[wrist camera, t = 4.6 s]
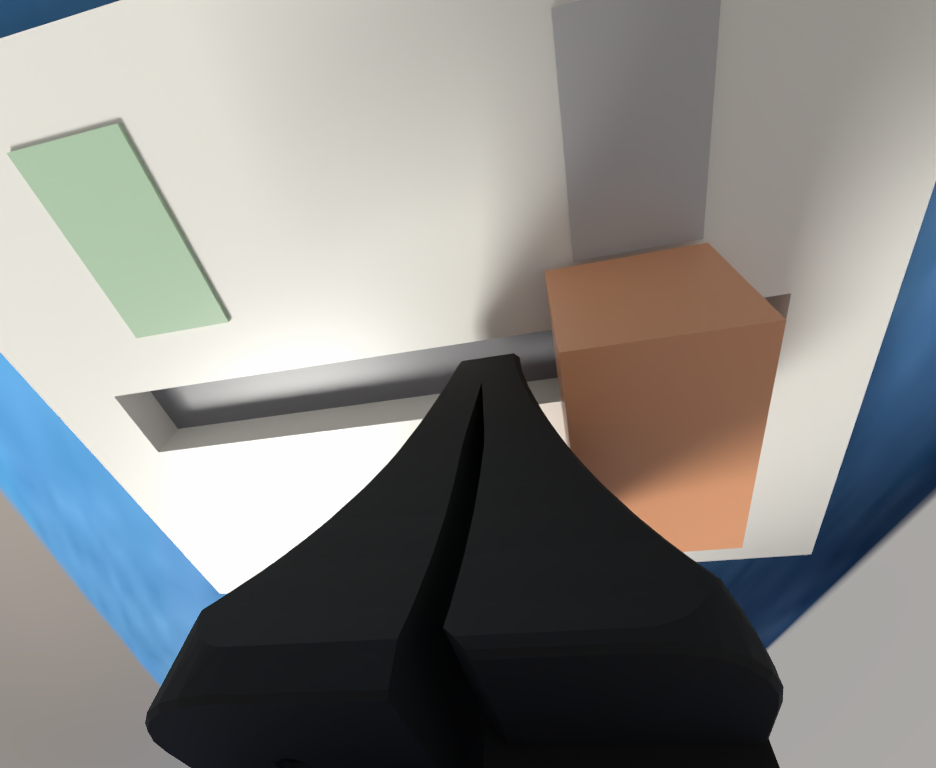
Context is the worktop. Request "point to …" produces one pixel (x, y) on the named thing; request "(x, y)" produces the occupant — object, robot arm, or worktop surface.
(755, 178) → the white flat board
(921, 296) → the worktop surface
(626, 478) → the switch
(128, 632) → the worktop surface
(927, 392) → the worktop surface
